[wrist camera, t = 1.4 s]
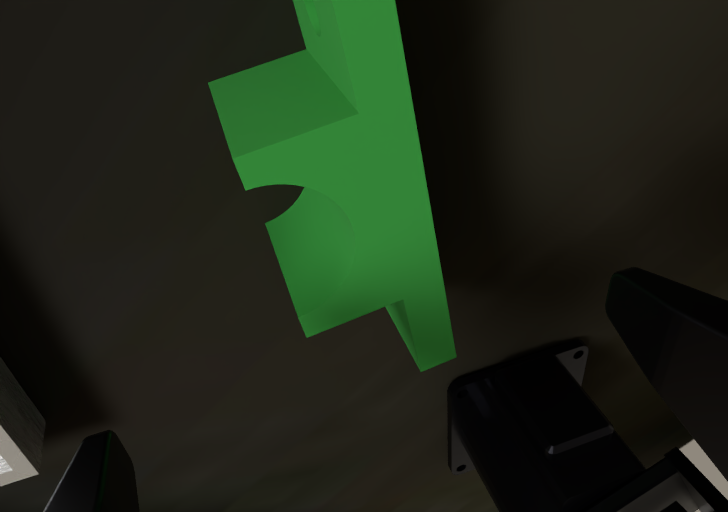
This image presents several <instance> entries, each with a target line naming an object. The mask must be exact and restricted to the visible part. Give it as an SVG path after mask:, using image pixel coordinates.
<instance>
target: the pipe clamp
mask: <svg viewBox="0 0 728 512" xmlns="http://www.w3.org/2000/svg"><path fill="white" fill-rule="evenodd" d="M293 2H294V6H295V10H296V13H297V17H298V20H299V24H300V27H301V31H302V35H303V38H304V42H305V45H306V50H303V51H300V52H297V53H294V54H291V55H288V56H285V57H282V58H279V59H276V60H273V61H270V62H267V63H265V64H262V65H259V66H256V67H253V68H250V69H247V70H244V71H241V72H238V73H235V74H232V75H229V76H226V77H223V78H220V79H217V80H214V81H211V82H208V84H209V87H210V90H211V93H212V97H213V100H214V103H215V106H216V109H217V112H218V115H219V118H220V121H221V124H222V128H223V131H224V134H225V137H226V140H227V143H228V146H229V149H230V152H231V155H232V159H233V161H234V163H235V166H236V168H237V171H238V173H239V175H240V178H241V180H242V183H243V185H244V188H245V190H249V189H252V188H256V187H260V186H265V185H274V184H289V185H298V186H303V187H304V189H303V191H302V193H301V195H300V196H299V198H298V199H297V201H296V202H295V203H294V204H293V205H292V206H291V207H290V208H289V209H288V210H287V211H286V212H284V213H283V214H282V215H280V216H279V217H277V218H275V219H273V220H271V221H269V222H267V223H265V224H266V227H267V230H268V233H269V236H270V238H271V241H272V244H273V247H274V250H275V253H276V255H277V258H278V261H279V264H280V267H281V270H282V273H283V275H284V278H285V281H286V284H287V287H288V290H289V292H290V295H291V298H292V301H293V304H294V307H295V309H296V312H297V315H298V318H299V320H300V323H301V325H302V327H303V330H304V332H305V335H306V337H310V336H312V335H315V334H317V333H320V332H322V331H325V330H327V329H330V328H332V327H335V326H337V325H340V324H342V323H345V322H347V321H350V320H352V319H355V318H357V317H360V316H362V315H365V314H367V313H370V312H372V311H375V310H377V309H380V308H382V307H386V309H387V310H388V312H389V314H390V316H391V318H392V320H393V321H394V323H395V325H396V327H397V329H398V331H399V333H400V334H401V336H402V338H403V340H404V342H405V344H406V345H407V347H408V349H409V351H410V353H411V355H412V357H413V358H414V360H415V362H416V364H417V366H418V368H419V369H420V371H421V372H422V371H425V370H427V369H429V368H432V367H434V366H437V365H439V364H441V363H444V362H446V361H449V360H451V359H453V358H456V352H455V346H454V340H453V334H452V328H451V323H450V317H449V311H448V305H447V299H446V294H445V288H444V282H443V276H442V270H441V265H440V259H439V253H438V247H437V241H436V236H435V230H434V224H433V218H432V212H431V207H430V201H429V195H428V189H427V183H426V178H425V172H424V166H423V160H422V154H421V149H420V143H419V137H418V131H417V125H416V120H415V114H414V108H413V102H412V96H411V91H410V85H409V79H408V73H407V67H406V62H405V56H404V50H403V44H402V38H401V33H400V27H399V21H398V15H397V9H396V4H395V0H293Z"/></svg>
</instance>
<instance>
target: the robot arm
mask: <svg viewBox="0 0 728 512" xmlns="http://www.w3.org/2000/svg"><path fill="white" fill-rule="evenodd" d="M605 308H606V313H607V315H608V317H609V319H610V321H611V322H612V324H613V325H614V327H615V329H616V330H617V332H618V333H619V335H620V336H621V338H622V340H623V341H624V343H625V344H626V346H627V348H628V349H629V351H630V352H631V354H632V355H633V357H634V359H635V360H636V362H637V363H638V365H639V366H640V368H641V370H642V371H643V373H644V374H645V376H646V377H647V379H648V380H649V382H650V383H651V384H652V386H653V387H654V388H655V390H656V391H657V392H658V394H659V395H660V396H661V398H662V399H663V400H664V401H665V403H666V404H667V405H668V406H669V408H670V409H671V410H672V411H673V413H674V414H675V415H676V417H677V418H678V419H679V420H680V422H681V423H682V424H683V425H684V427H685V428H686V429H687V430H688V432H689V433H690V434H691V436H692V437H693V438H694V439H695V441H696V442H697V443H698V444H699V446H700V447H701V448H702V449H703V451H704V452H705V453H706V455H707V456H708V457H709V458H710V459H711V461H712V462H713V463H714V465H715V466H716V467H717V468H718V470H719V471H720V472H721V473H722V475H723V476H724V477H725V479H726V480H727V481H728V301H727V300H724V299H721V298H718V297H716V296H713V295H710V294H708V293H705V292H702V291H699V290H697V289H694V288H691V287H689V286H686V285H683V284H680V283H678V282H675V281H672V280H670V279H667V278H664V277H661V276H659V275H656V274H653V273H651V272H648V271H645V270H643V269H640V268H636V267H631V268H627V269H624V270H621V271H618V272H615V273H614V274H613V275H612V277H611V280H610V285H609V289H608V294H607V299H606V304H605ZM588 352H589V349H588V347H587V346H586V345H585V344H584V343H583V342H582V341H581V340H575V341H572V342H569V343H566V344H563V345H560V346H557V347H554V348H551V349H548V350H545V351H541V352H538V353H535V354H532V355H529V356H526V357H523V358H520V359H517V360H514V361H511V362H508V363H505V364H502V365H499V366H496V367H493V368H490V369H487V370H484V371H481V372H478V373H475V374H472V375H469V376H466V377H463V378H460V379H458V380H456V381H454V382H453V383H451V384H450V386H449V387H448V390H447V401H448V466H449V468H450V470H451V472H452V474H454V475H459V474H463V473H465V472H468V471H471V470H473V469H476V470H477V472H478V474H479V476H480V478H481V479H482V481H483V483H484V485H485V487H486V489H487V490H488V492H489V494H490V496H491V498H492V500H493V501H494V503H495V505H496V507H497V509H498V511H499V512H695V511H696V510H698V509H699V510H700V511H701V512H728V500H727V499H726V498H725V497H724V496H723V495H722V494H721V493H720V492H719V491H718V490H717V489H716V488H715V486H713V484H712V483H711V482H710V481H709V480H708V479H707V478H706V477H705V476H704V475H703V474H702V473H701V472H700V471H699V470H698V469H697V468H696V467H695V466H694V465H693V464H692V462H691V461H690V460H689V459H688V458H687V457H686V456H685V455H684V454H683V453H682V452H681V451H680V450H679V449H678V448H677V447H675V448H674V449H672V450H671V451H669V452H668V453H666V454H665V455H664V456H665V458H664V459H662V460H660V461H659V462H657V463H656V464H654V465H653V466H651V467H650V468H648V469H647V470H646V468H645V467H644V466H643V465H642V463H641V462H640V461H639V460H638V458H637V457H636V456H635V455H634V453H633V452H632V451H631V450H630V449H629V447H628V446H627V445H626V444H625V442H624V441H623V440H622V439H621V437H620V436H619V435H618V434H617V432H616V431H615V430H614V428H613V425H612V424H611V423H610V422H609V420H608V419H607V418H606V417H605V415H604V414H603V413H602V412H601V410H600V409H599V408H598V407H597V406H596V404H595V403H594V402H593V401H592V399H591V398H590V397H589V396H588V394H587V393H586V392H585V391H584V389H583V388H582V387H581V385H582V381H583V376H584V371H585V366H586V361H587V357H588ZM43 512H139V504H138V495H137V487H136V479H135V472H134V467H133V463H132V461H131V458H130V457H129V455H128V453H127V452H126V450H125V448H124V447H123V445H122V443H121V441H120V440H119V438H118V436H117V435H116V433H115V432H113V431H112V430H107V431H104V432H100V433H97V434H94V435H91V436H88V437H86V438H85V439H84V440H83V441H82V443H81V444H80V446H79V448H78V450H77V451H76V453H75V455H74V457H73V459H72V460H71V462H70V464H69V466H68V468H67V469H66V471H65V473H64V475H63V477H62V478H61V480H60V482H59V484H58V486H57V487H56V489H55V491H54V493H53V495H52V496H51V498H50V500H49V502H48V504H47V505H46V507H45V509H44V511H43Z"/></svg>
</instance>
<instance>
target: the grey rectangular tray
mask: <svg viewBox="0 0 728 512" xmlns="http://www.w3.org/2000/svg"><path fill="white" fill-rule="evenodd" d="M45 424H46V421H45V419H44V418H43V417H42V415H41V414H40V412H39V411H38V410H37V408H36V407H35V405H34V404H33V402H32V401H31V400H30V398H29V397H28V395H27V394H26V393H25V391H24V390H23V388H22V387H21V385H20V384H19V383H18V381H17V380H16V378H15V377H14V375H13V374H12V373H11V371H10V370H9V368H8V367H7V366H6V364H5V363H4V361H3V360H2V358H1V357H0V486H3V485H6V484H9V483H12V482H15V481H18V480H22V479H25V478H28V477H31V476H34V475H37V474H39V469H40V462H41V454H42V447H43V439H44V432H45Z"/></svg>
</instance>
